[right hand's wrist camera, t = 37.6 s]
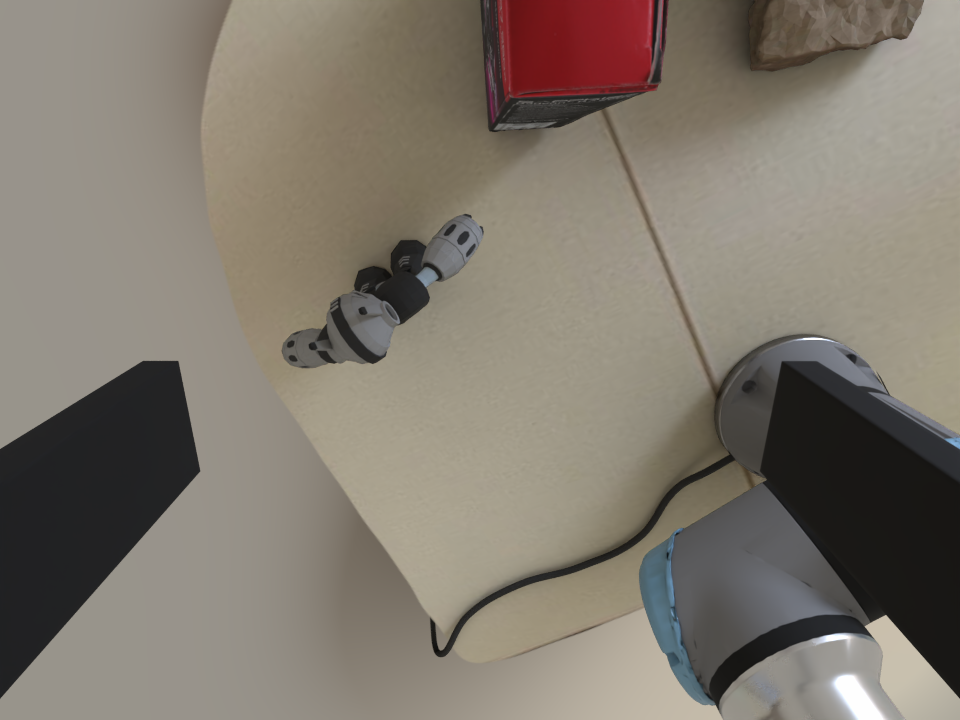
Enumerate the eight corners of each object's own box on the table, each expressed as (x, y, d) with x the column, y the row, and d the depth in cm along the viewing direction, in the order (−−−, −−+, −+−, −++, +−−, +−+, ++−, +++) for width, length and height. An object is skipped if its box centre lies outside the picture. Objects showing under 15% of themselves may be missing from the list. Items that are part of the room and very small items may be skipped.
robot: (331, 352, 55) (254, 456, 36) (298, 313, 53) (200, 399, 35) (496, 237, 51) (506, 286, 32) (465, 191, 50) (457, 215, 31)
